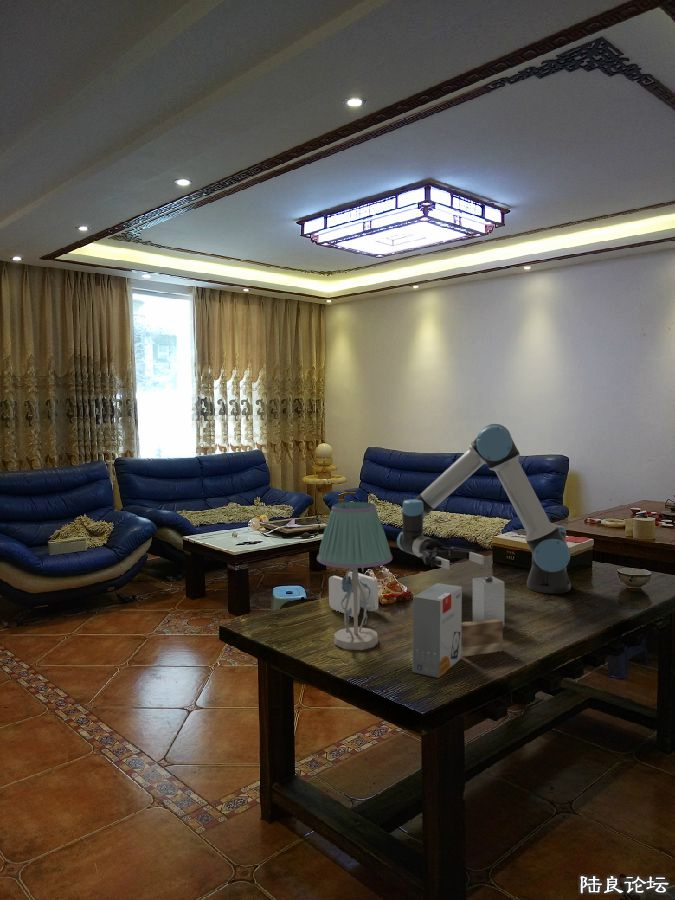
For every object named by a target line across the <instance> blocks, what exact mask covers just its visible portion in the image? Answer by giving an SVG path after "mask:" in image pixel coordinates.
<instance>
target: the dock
mask: <svg viewBox="0 0 675 900" xmlns="http://www.w3.org/2000/svg"><path fill="white" fill-rule="evenodd" d="M503 629H504V627H503V621H502V620H500V619H492V620H485V621H477V622H473V621H472V620H471V621H464V622H463V621H461V657H463V658H464V657H469V656H470V657H471V656H476V655H477V656H478V655H483V654H492V653H497V652H498V651H499V652H503V649H504V648H503V646H504V644H503V639H504V638H503Z"/></svg>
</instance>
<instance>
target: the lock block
mask: <svg viewBox="0 0 675 900" xmlns="http://www.w3.org/2000/svg"><path fill="white" fill-rule="evenodd" d="M505 583H506V582H505V581H503V580H501V579H499V578H497V577H496V576H493V575H492V576H490V575H489V576H483V577H473V578H472V622H477V621H485V620H492V619H500V620H502V621H503V626H504V627H505V599H506V597H505Z"/></svg>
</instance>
